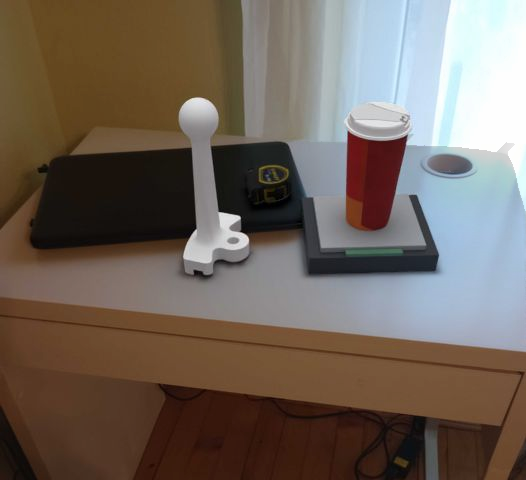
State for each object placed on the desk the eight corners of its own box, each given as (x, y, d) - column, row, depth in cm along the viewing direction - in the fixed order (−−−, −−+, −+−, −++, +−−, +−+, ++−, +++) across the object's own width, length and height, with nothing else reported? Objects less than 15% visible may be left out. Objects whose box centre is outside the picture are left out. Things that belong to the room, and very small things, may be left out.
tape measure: (243, 186, 94) (242, 163, 91) (288, 182, 95) (288, 159, 92) (248, 211, 89) (247, 187, 87) (296, 206, 90) (297, 183, 87)
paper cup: (404, 210, 83) (421, 106, 73) (387, 241, 78) (403, 134, 68) (348, 197, 85) (357, 95, 76) (327, 227, 81) (335, 121, 71)
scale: (414, 209, 89) (417, 189, 87) (435, 270, 79) (440, 249, 77) (300, 212, 89) (301, 192, 87) (308, 273, 79) (309, 252, 77)
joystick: (211, 224, 87) (198, 77, 73) (262, 234, 85) (260, 85, 71) (177, 271, 80) (155, 118, 66) (232, 283, 78) (222, 128, 64)
